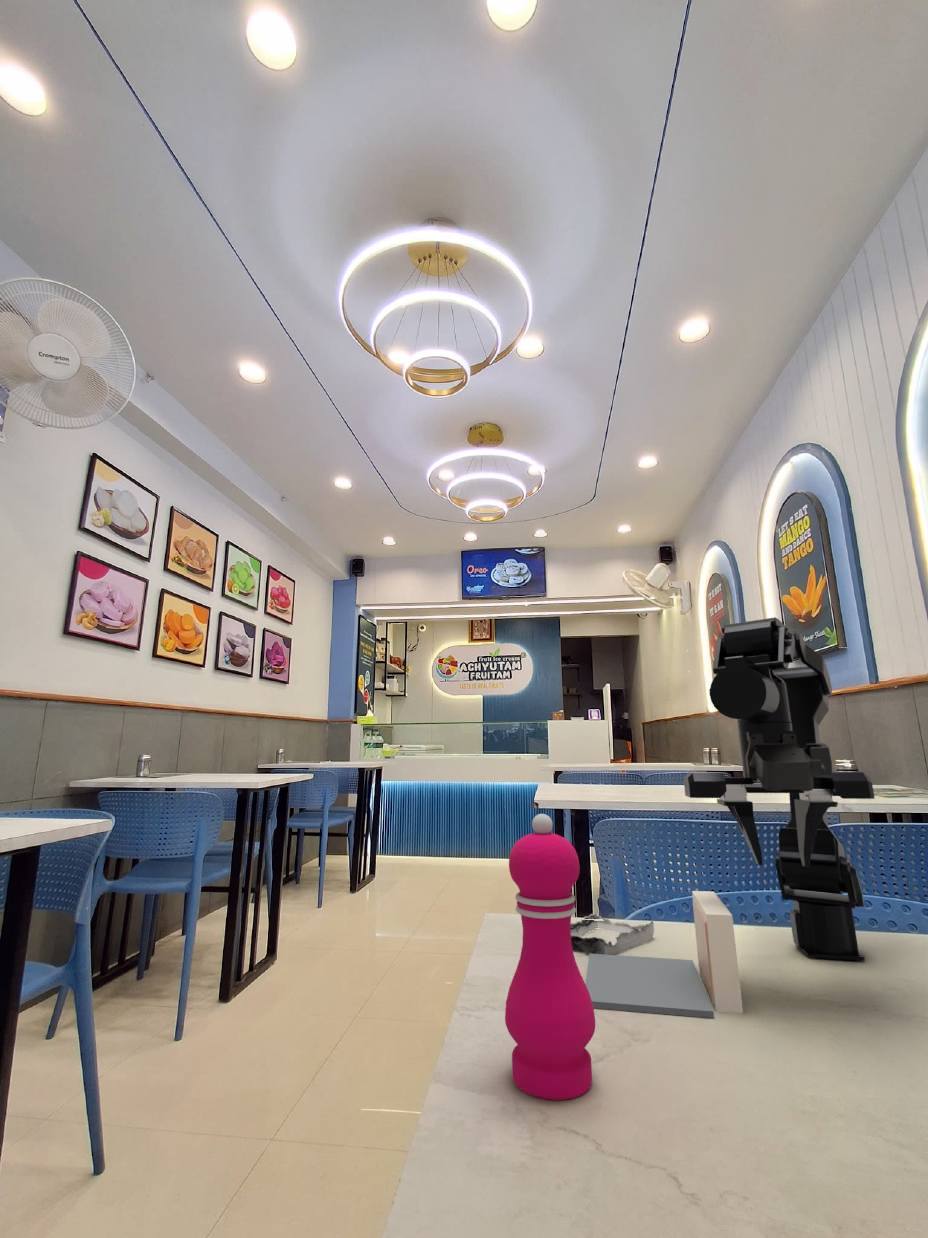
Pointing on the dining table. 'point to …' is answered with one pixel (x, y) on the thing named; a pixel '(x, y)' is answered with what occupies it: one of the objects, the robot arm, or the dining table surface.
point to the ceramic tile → (717, 951)
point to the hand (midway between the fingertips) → (782, 865)
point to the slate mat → (647, 985)
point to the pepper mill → (548, 972)
